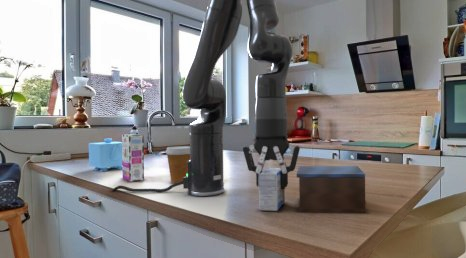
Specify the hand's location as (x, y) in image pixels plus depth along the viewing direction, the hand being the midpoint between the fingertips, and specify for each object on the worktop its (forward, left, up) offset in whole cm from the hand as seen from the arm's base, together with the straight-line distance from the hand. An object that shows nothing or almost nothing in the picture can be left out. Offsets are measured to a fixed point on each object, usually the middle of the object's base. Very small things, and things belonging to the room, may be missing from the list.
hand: (272, 188), depth 71 cm
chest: (+14, +2, -4) cm, 15 cm away
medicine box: (0, 0, -5) cm, 5 cm away
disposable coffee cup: (-36, +28, -5) cm, 46 cm away
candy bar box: (-56, +32, -5) cm, 65 cm away
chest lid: (+14, +2, +3) cm, 14 cm away
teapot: (-81, +54, -5) cm, 97 cm away
